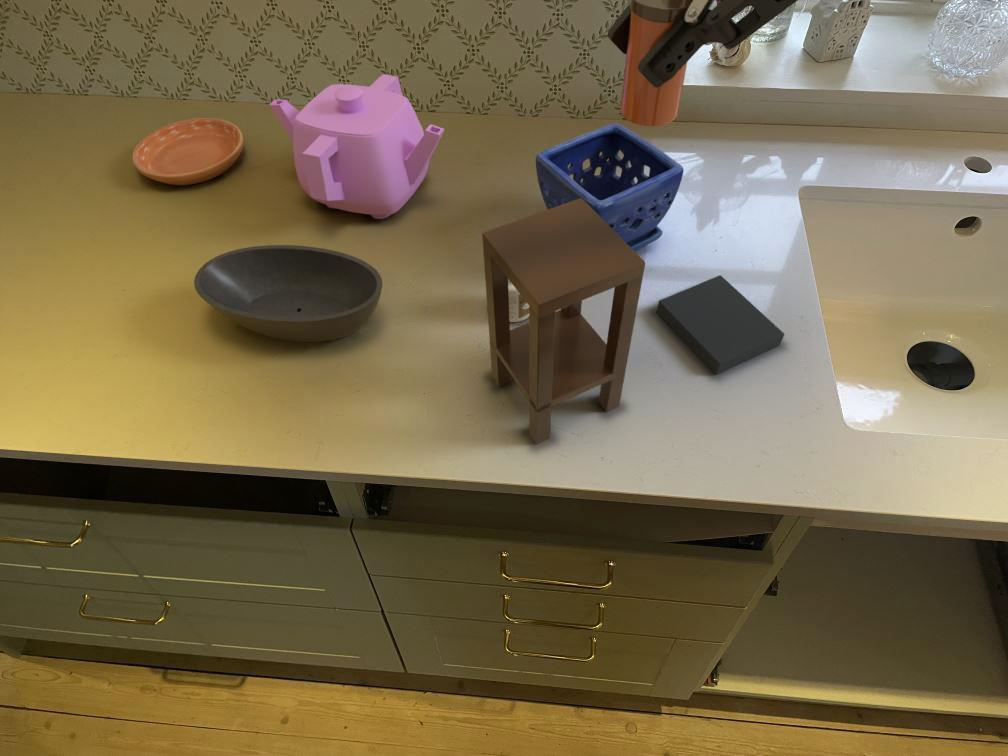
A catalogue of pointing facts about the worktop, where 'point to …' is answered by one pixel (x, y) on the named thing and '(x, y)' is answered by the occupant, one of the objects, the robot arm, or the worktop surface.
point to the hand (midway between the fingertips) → (632, 60)
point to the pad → (719, 324)
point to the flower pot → (612, 180)
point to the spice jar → (651, 17)
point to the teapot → (359, 146)
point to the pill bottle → (516, 305)
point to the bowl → (291, 291)
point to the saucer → (189, 151)
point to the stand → (560, 307)
